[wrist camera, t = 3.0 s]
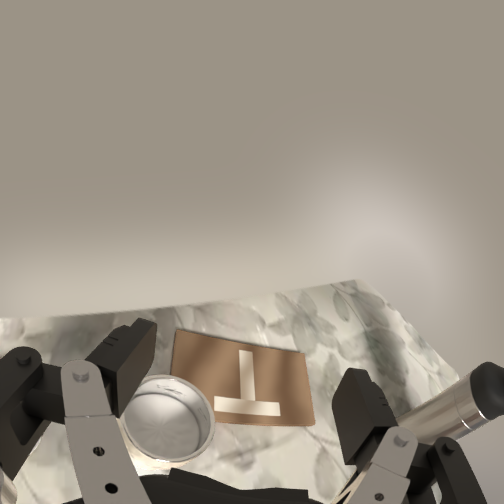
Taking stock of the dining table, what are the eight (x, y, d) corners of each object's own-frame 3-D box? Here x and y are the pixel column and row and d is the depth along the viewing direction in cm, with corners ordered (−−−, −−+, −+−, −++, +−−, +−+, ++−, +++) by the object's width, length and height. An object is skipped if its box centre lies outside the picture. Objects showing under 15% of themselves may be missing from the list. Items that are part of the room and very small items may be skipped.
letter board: (300, 356, 44) (304, 353, 43) (311, 426, 35) (315, 423, 34) (175, 332, 38) (177, 329, 37) (167, 414, 29) (168, 412, 28)
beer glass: (114, 416, 26) (115, 367, 17) (173, 419, 29) (209, 372, 20) (120, 473, 21) (120, 465, 12) (182, 473, 24) (227, 461, 15)
